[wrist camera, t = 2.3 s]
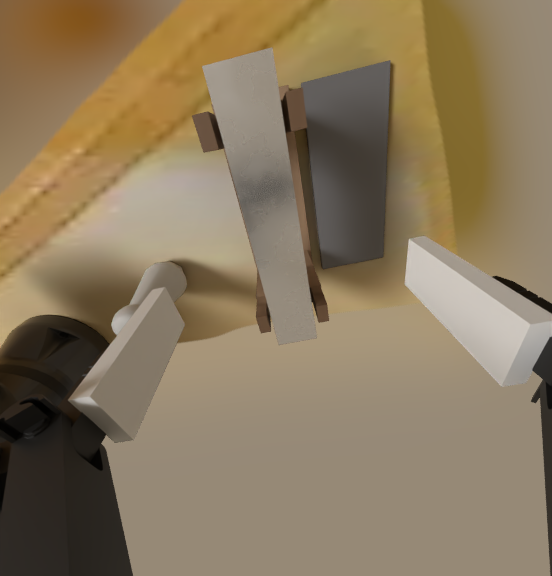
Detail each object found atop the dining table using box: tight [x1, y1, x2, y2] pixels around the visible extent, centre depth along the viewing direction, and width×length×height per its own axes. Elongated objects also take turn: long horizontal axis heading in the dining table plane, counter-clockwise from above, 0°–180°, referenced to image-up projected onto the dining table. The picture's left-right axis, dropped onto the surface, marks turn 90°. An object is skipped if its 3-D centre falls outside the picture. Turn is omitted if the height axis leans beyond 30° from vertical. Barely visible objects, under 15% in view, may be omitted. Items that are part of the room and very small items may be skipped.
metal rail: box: [202, 48, 317, 345], centre depth 20 cm, size 4×22×4 cm, turn 12°
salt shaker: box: [111, 261, 187, 335], centre depth 31 cm, size 6×6×13 cm
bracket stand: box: [192, 85, 329, 333], centre depth 25 cm, size 8×22×14 cm, turn 11°
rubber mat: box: [301, 61, 390, 269], centre depth 30 cm, size 9×22×1 cm, turn 11°
